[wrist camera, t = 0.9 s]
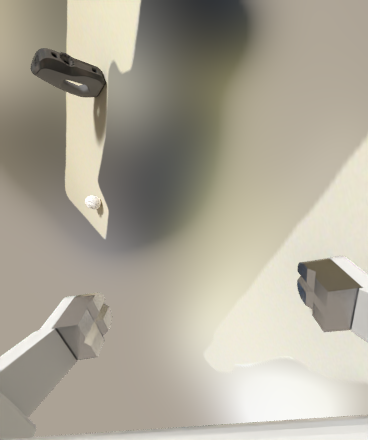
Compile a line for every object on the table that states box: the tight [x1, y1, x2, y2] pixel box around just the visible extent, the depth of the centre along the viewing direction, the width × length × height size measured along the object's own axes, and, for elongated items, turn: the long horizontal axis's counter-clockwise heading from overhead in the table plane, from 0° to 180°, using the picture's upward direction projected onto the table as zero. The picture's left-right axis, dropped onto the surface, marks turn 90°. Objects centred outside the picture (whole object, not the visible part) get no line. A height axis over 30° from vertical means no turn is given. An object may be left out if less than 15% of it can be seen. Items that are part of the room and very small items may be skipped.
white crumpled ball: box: [85, 196, 101, 209], centre depth 107 cm, size 8×8×8 cm
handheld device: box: [31, 48, 106, 97], centre depth 80 cm, size 6×15×25 cm, turn 118°
